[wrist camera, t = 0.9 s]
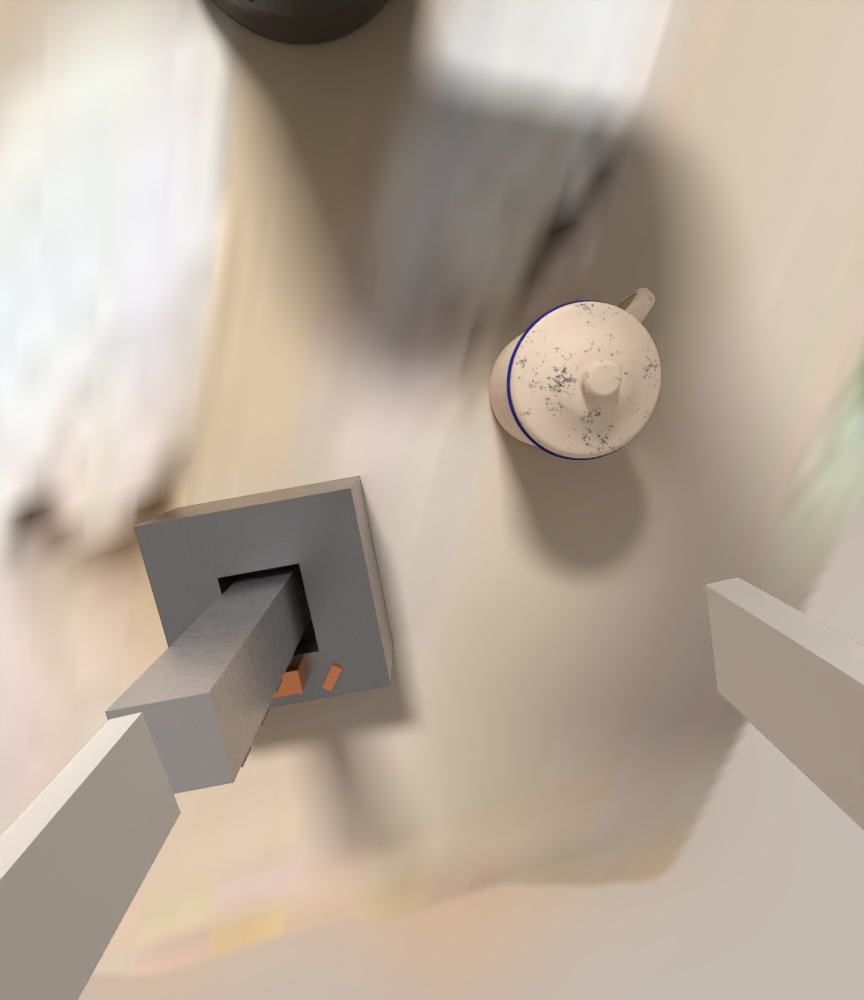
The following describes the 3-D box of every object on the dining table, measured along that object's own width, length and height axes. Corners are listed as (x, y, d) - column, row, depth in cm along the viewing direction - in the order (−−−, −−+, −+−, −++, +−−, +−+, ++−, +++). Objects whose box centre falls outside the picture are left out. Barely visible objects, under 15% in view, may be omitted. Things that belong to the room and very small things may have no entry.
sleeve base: (176, 508, 38) (119, 532, 31) (359, 476, 38) (347, 492, 31) (221, 676, 41) (179, 736, 33) (393, 645, 41) (390, 698, 33)
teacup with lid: (548, 473, 39) (607, 499, 28) (459, 395, 38) (482, 389, 26) (655, 350, 38) (764, 325, 26) (567, 265, 36) (641, 199, 25)
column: (256, 559, 39) (104, 711, 19) (308, 550, 39) (208, 692, 19) (270, 615, 40) (138, 816, 20) (321, 606, 40) (238, 797, 20)
